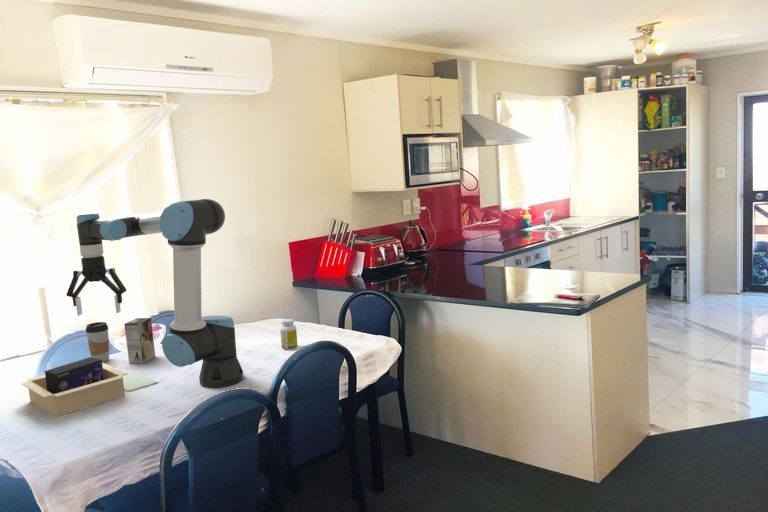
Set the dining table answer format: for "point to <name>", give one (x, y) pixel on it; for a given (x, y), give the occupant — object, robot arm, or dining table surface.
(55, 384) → the box
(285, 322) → the pill bottle
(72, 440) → the dining table surface
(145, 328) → the coffee box
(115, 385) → the tan open rectangular tray
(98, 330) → the coffee cup
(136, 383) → the mat
